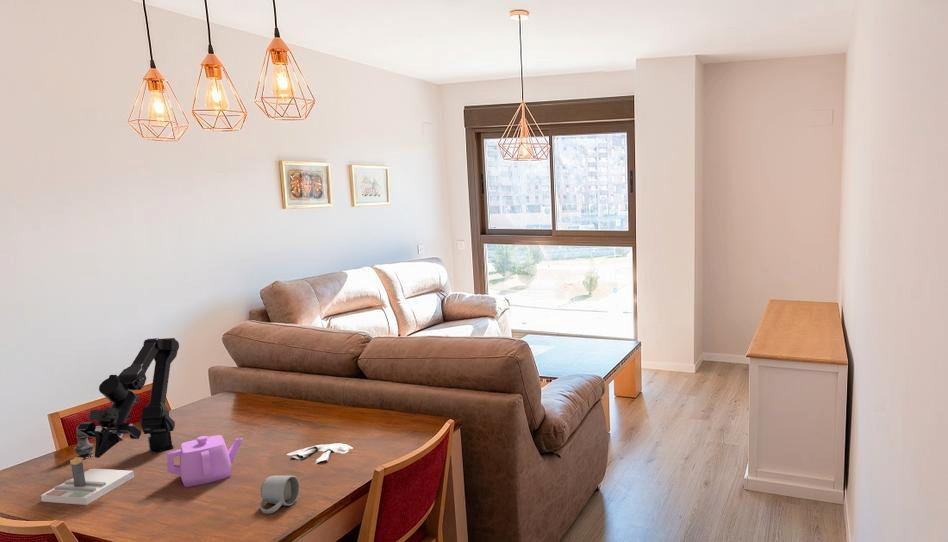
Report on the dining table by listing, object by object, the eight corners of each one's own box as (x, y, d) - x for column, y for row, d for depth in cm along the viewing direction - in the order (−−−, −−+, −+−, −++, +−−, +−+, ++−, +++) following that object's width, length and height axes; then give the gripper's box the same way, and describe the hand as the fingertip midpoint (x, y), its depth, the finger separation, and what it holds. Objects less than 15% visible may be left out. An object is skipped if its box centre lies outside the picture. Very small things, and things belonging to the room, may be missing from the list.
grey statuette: (85, 460, 218) (80, 426, 216) (70, 459, 219) (65, 425, 217) (99, 453, 223) (94, 419, 222) (84, 452, 225) (79, 419, 223)
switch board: (92, 474, 205) (91, 466, 205) (134, 476, 201) (133, 468, 201) (41, 501, 188) (40, 492, 188) (86, 504, 184) (85, 495, 184)
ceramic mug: (276, 494, 183) (273, 469, 182) (301, 497, 180) (298, 471, 179) (252, 513, 173) (249, 486, 172) (278, 516, 170) (275, 489, 169)
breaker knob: (80, 484, 193) (76, 457, 192) (86, 484, 192) (82, 457, 191) (74, 487, 191) (70, 460, 190) (80, 488, 190) (76, 460, 189)
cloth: (361, 447, 215) (361, 440, 215) (320, 475, 195) (319, 467, 195) (312, 441, 223) (312, 434, 223) (268, 467, 204) (267, 459, 204)
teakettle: (163, 486, 193) (158, 446, 192) (202, 462, 210) (198, 425, 208) (211, 490, 188) (206, 449, 187) (247, 465, 205) (243, 428, 203)
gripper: (78, 396, 198) (51, 445, 188) (129, 397, 193) (104, 447, 184) (102, 413, 206) (77, 460, 197) (151, 414, 201) (129, 462, 192)
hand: (96, 457), depth 192 cm, fingers closed
